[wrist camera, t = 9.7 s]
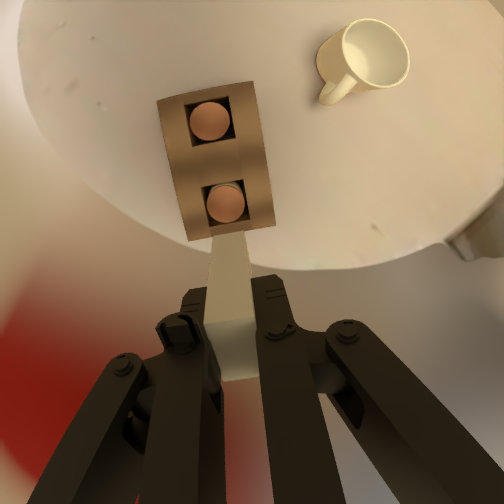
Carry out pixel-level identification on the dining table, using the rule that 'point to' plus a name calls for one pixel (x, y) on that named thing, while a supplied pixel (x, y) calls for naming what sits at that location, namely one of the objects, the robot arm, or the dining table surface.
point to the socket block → (217, 160)
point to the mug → (361, 60)
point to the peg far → (226, 201)
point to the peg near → (209, 121)
